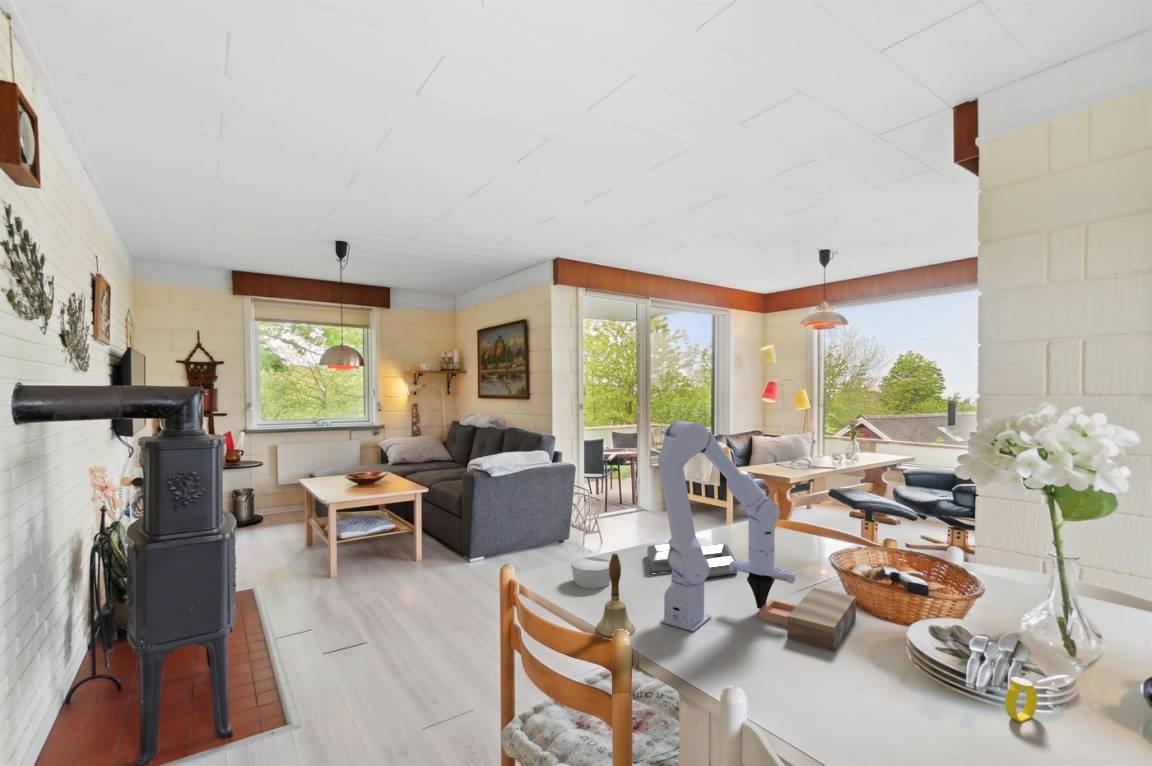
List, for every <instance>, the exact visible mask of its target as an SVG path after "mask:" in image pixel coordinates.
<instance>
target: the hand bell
mask: <svg viewBox="0 0 1152 766" xmlns="http://www.w3.org/2000/svg"><path fill="white" fill-rule="evenodd" d="M609 575H610V579H611V581H610V583H611V588H610V589H611V590H610V591H611V593H610V596H611V597H610V598H611V599H610V600H608V601H607V602H605V604H604V609H603V610H604V611H603V616H602V618H601V620H600V621H599V622H598V623H597V624H596V627H595V630H596V631H597V633H599V634H600V635H602V636H605V637H609V638H612V637H611V636H612V634H613V633H614V631H616V630H617V629H624V630H627V631H628V632H629V633H630V634H631V635H632V634H634V632H635V630H636V627H635V625H634V623H633V622H632V621H631V620H630V618H629V615H628V613H627V606H626V603H625V602H624V601H622V600H620V586H619V584H620V579H621V575H622V565H621V561H620V558H619V554H618V553H612V554H611V558H610V564H609Z"/></svg>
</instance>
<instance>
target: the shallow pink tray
mask: <svg viewBox="0 0 1152 766" xmlns="http://www.w3.org/2000/svg"><path fill="white" fill-rule="evenodd" d="M797 605H798V604H794V603H790V602H786V601H782V600H779V599H778V600H777V599H773V598H770V599H769V600H767V601H766V604H765V605H764V606H763V607H762V608H760V609H759V608H758V609H759V610H758V619H760V620H762V619H763V621H767V622H770V623H773V624H778V625H782V626H785V627H787V616H788V615H789V613H790V612H791V611H792V610H793V609H794V608H795V607H796V606H797Z"/></svg>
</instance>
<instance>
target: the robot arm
mask: <svg viewBox="0 0 1152 766" xmlns="http://www.w3.org/2000/svg"><path fill="white" fill-rule="evenodd" d="M698 454H702V455H704V456H705V457H706V458H707V459H708V460H709V461H710V462H711V463H712V465H713V466H715V468H716V469H717V470H718V471H719V472H720V473H721V475H723V477H725V479H726V488H727V489H728V490H729V491H730V493H731V494H732V495H733V497H735V499H736V500H737V502H739V503H740V504H741V506H742V509H743V513H744V514H745V515H746V516H747V517H748V523H747V524H748V526H747V527H748V533H747V534H748V537H747V538H748V549H747V551H748V561H742V560H741V561H739V560H736V561H734V560H732V561H731V562H730V570H731V571H738V572H741V573H745V574H748V576H747V578H746V581H747V583H748V585H749V586H750V588H751V590H752V593H753V596H754V600H755V603H756V608H757V609H760V608H762V607H763V606H764V605H765V604H766V603H767V602H768V596H769V594H770V591H771V588H772V586H773V584H774V582H775V581H776V580H778V581H782V582H786V583H788V584H794V583H795V582H796V573H795V572H793V571H788V570H786V569H783V568H779V567H776V566H775V547H776V546H775V545H776V544H775V534H776V533H775V529H776V524H777V521H778V520H779V519H780V515H781V510H779V506H778V504H777V502H776V501H775V500H773V499H772V498H768V496H767V491H766V490H765V489H763V488H761V487H760V485H758V483H757V482H756V481H755V480H754V479H755V476H754V474H752V473H751V472H748V471H746V470H739V469H738V467H737V466H736V464H735V463H734V462H733V460H732V459H731V458H730V456H728V454H727V452H726V451H725V449H724V448H723V447H722V446H721V445H720V443H719V442H718V441H717V439H716V437H715V435H714V434H713V433H712V432H711V431H709V430H708V429H707V427H706V426H705V425H704V424H703V423H700V422H691V421H686V420H682V419H678V420H675V421H673V422H672V423H671V424H669V426H668V427H667V428H666V429H665V431H664V432H663V441H662V445H661V448H660V451H659V454H658V458H657V464H658V470H659V475H660V480H661V486H662V490H663V491H662V492H663V498H664V502H665V507H666V514H667V519H668V524H669V530H670V535H671V537H670V539H669V540H668V542H667V543H669V552H668V556H667V560H668V563H669V565H670V567H671V568H672V572H671V582H670V585H669V586H668V588H667V589H666V590H665V592H664V599H663V600H664V601H663V602H664V603H663V605H664V606H663V609H664V611H663V612H664V614H663V615H664V616H663V617H662V618H660V622H661V623H663V624H666V625H670V626H673V627H677V628H679V629H680V628H681V629H683V630H687V631H689V630H690V632H695V631H696V630H698V628H700V627H701V626H702V625H703V624H705V623H706V622H707V621H708V620H709V619H711V618H712V615H711V614H709V613H706V612H705V580H706V579H708V578H707V576H708V574H709V570H710V567H709V563H708V561H707V559H706V558H705V557H704V555H703V551H702V547H701V546H702V545H701V543H700V542H699V540H698V538H697V536H696V532H695V526H694V519H693V515H692V510H691V509H692V508H691V504H690V498H689V492H688V485H687V482H686V481H687V480H686V476H685V470H684V467H685V466H686V465H687V463H688V462H689V461H690V459H692V458H693V457H695V456H696V455H698Z"/></svg>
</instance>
